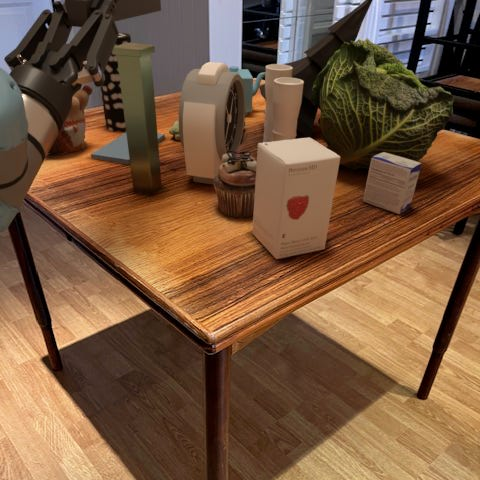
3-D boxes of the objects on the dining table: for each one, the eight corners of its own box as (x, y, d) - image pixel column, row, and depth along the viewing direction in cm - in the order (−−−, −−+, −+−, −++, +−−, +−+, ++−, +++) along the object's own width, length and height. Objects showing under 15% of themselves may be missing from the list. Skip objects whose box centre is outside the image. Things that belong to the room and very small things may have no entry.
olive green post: (153, 196, 87) (140, 50, 72) (129, 192, 88) (111, 47, 73) (165, 186, 91) (154, 45, 76) (142, 182, 92) (126, 42, 77)
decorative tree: (300, 154, 116) (409, 20, 100) (254, 117, 110) (362, -32, 93) (290, 134, 127) (386, 11, 111) (247, 100, 121) (343, -35, 105)
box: (411, 208, 87) (423, 162, 81) (399, 215, 84) (411, 168, 79) (373, 194, 91) (383, 150, 85) (361, 201, 88) (370, 156, 83)
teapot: (202, 104, 137) (201, 60, 130) (262, 104, 138) (265, 61, 131) (204, 120, 124) (203, 73, 117) (271, 120, 126) (274, 73, 119)
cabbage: (403, 212, 100) (474, 113, 82) (296, 186, 95) (347, 75, 77) (382, 144, 115) (438, 49, 97) (288, 119, 110) (330, 13, 92)
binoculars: (295, 182, 94) (306, 84, 83) (269, 182, 94) (276, 84, 83) (282, 151, 108) (290, 64, 96) (259, 151, 107) (264, 63, 96)
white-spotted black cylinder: (123, 119, 123) (112, 31, 110) (146, 126, 119) (138, 35, 107) (99, 127, 118) (84, 35, 105) (122, 134, 114) (110, 39, 101)
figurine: (103, 156, 102) (91, 81, 93) (26, 162, 99) (5, 84, 89) (99, 135, 113) (88, 65, 103) (30, 139, 109) (11, 68, 100)
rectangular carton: (275, 261, 71) (284, 163, 61) (250, 234, 77) (255, 141, 68) (326, 250, 74) (342, 155, 64) (299, 224, 80) (309, 135, 71)
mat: (128, 164, 99) (128, 159, 99) (91, 158, 101) (90, 153, 101) (165, 138, 113) (164, 134, 112) (131, 133, 115) (130, 129, 114)
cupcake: (274, 216, 82) (279, 160, 76) (221, 222, 80) (221, 165, 74) (257, 194, 89) (260, 140, 83) (208, 199, 87) (207, 144, 81)
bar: (88, 27, 61) (84, 0, 59) (68, 26, 62) (64, -2, 60) (161, 10, 78) (159, -12, 76) (145, 9, 78) (143, -13, 76)
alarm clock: (220, 193, 89) (220, 76, 76) (178, 187, 91) (171, 72, 78) (245, 161, 102) (248, 56, 90) (208, 156, 104) (206, 53, 91)
